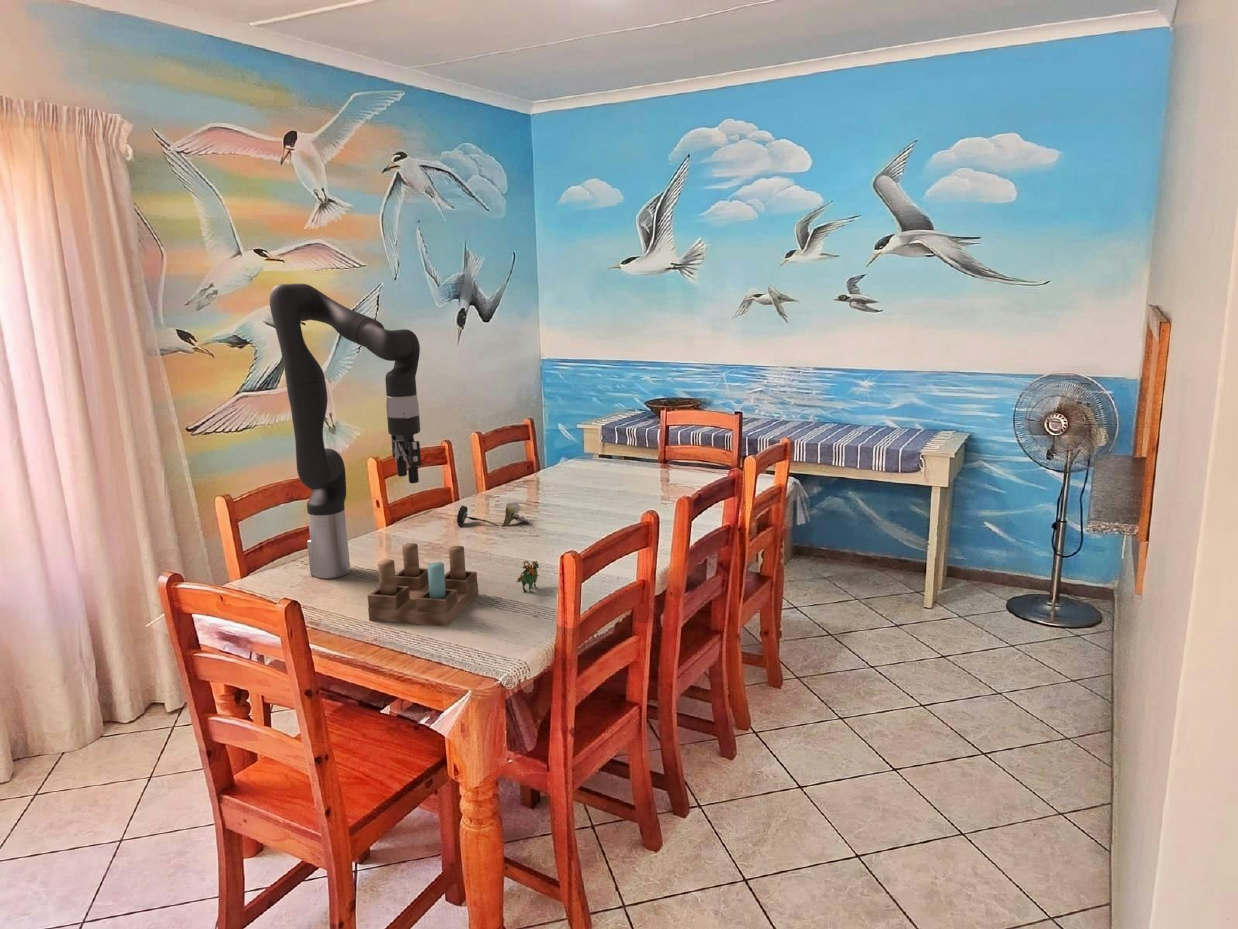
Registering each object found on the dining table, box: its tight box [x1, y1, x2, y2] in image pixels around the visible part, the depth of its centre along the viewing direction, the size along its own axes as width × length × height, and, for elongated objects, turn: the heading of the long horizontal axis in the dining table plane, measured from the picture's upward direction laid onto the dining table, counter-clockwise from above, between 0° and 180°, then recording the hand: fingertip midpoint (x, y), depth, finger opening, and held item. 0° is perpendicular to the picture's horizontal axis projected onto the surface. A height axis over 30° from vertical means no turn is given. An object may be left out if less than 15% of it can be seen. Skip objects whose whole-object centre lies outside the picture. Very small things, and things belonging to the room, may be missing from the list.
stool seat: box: [367, 542, 480, 627], centre depth 192 cm, size 19×19×13 cm
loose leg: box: [427, 561, 446, 599], centre depth 185 cm, size 4×4×10 cm
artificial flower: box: [456, 501, 530, 527], centre depth 258 cm, size 9×22×10 cm, turn 83°
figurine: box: [515, 560, 540, 594], centre depth 201 cm, size 3×12×8 cm, turn 160°
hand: (408, 479), depth 200 cm, fingers open, 8 cm apart
